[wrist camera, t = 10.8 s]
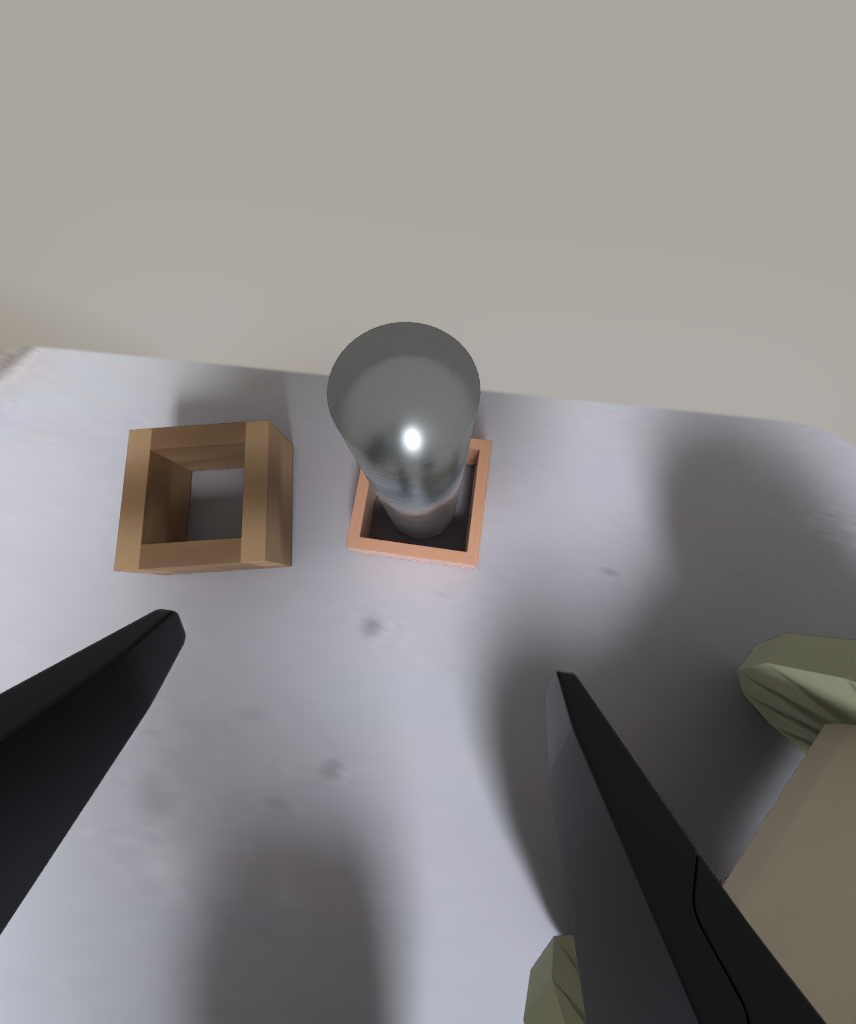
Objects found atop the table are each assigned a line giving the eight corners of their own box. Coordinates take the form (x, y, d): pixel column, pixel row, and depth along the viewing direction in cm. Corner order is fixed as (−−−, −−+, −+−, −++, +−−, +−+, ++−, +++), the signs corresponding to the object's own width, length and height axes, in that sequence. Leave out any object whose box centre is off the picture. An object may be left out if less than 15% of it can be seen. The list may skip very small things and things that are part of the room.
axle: (467, 519, 22) (508, 418, 10) (406, 550, 22) (365, 488, 9) (436, 461, 23) (437, 299, 11) (376, 490, 23) (303, 359, 10)
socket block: (473, 569, 22) (477, 565, 19) (355, 552, 22) (345, 546, 20) (486, 457, 23) (492, 440, 21) (375, 443, 24) (368, 425, 21)
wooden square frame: (291, 566, 22) (264, 560, 19) (163, 575, 22) (113, 570, 19) (292, 445, 24) (268, 420, 20) (173, 454, 24) (129, 429, 20)
